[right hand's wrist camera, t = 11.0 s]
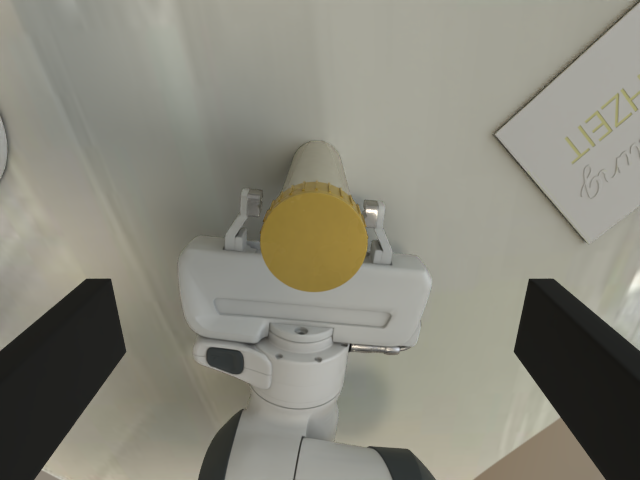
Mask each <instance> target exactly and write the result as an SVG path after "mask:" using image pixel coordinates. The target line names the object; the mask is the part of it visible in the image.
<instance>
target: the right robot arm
mask: <svg viewBox="0 0 640 480" xmlns="http://www.w3.org/2000/svg"><path fill="white" fill-rule="evenodd" d="M125 353H126V348H125V343H124V339H123V334H122V329H121V324H120V320H119V315H118V310H117V305H116V301H115V296H114V291H113V286H112V282H111V279H86V280H84V281H83V282H82V283H81V284H80V285H79V286H77V287H76V288H75V289H74V290H73V291H71V292H70V293H69V294H68V295H67V296H65V297H64V298H63V299H62V300H61V301H59V302H58V303H57V304H56V305H55V306H53V307H52V308H51V309H50V310H49V311H48V312H46V313H45V314H44V315H43V316H42V317H40V318H39V319H38V320H37V321H36V322H34V323H33V324H32V325H31V326H30V327H28V328H27V329H26V330H25V331H24V332H22V333H21V334H20V335H19V336H18V337H17V338H15V339H14V340H13V341H12V342H11V343H9V344H8V345H7V346H6V347H5V348H3V349H2V350H1V351H0V480H34V479H35V478H36V476H37V475H38V474H39V472H40V471H41V469H42V468H43V467H44V465H45V464H46V462H47V461H48V460H49V458H50V457H51V456H52V454H53V453H54V451H55V450H56V449H57V447H58V446H59V444H60V443H61V442H62V440H63V439H64V437H65V436H66V435H67V433H68V432H69V431H70V429H71V428H72V426H73V425H74V424H75V422H76V421H77V419H78V418H79V417H80V415H81V414H82V413H83V411H84V410H85V408H86V407H87V406H88V404H89V403H90V401H91V400H92V399H93V397H94V396H95V394H96V393H97V392H98V390H99V389H100V388H101V386H102V385H103V383H104V382H105V381H106V379H107V378H108V376H109V375H110V374H111V372H112V371H113V369H114V368H115V367H116V365H117V364H118V363H119V361H120V360H121V358H122V357H123V356H124V354H125ZM514 353H515V354H516V356H517V357H518V358H519V360H520V361H521V363H522V364H523V365H524V367H525V368H526V369H527V371H528V372H529V374H530V375H531V376H532V378H533V379H534V381H535V382H536V383H537V385H538V386H539V388H540V389H541V390H542V392H543V393H544V394H545V396H546V397H547V399H548V400H549V401H550V403H551V404H552V406H553V407H554V408H555V410H556V411H557V413H558V414H559V415H560V417H561V418H562V419H563V421H564V422H565V424H566V425H567V426H568V428H569V429H570V431H571V432H572V433H573V435H574V436H575V437H576V439H577V440H578V442H579V443H580V444H581V446H582V447H583V449H584V450H585V451H586V453H587V454H588V456H589V457H590V458H591V460H592V461H593V462H594V464H595V465H596V467H597V468H598V469H599V471H600V472H601V474H602V475H603V476H604V478H605V479H606V480H640V351H639V350H638V349H637V348H635V347H634V346H633V345H632V344H631V343H629V342H628V341H627V340H626V339H625V338H623V337H622V336H621V335H620V334H619V333H618V332H616V331H615V330H614V329H613V328H612V327H610V326H609V325H608V324H607V323H606V322H604V321H603V320H602V319H601V318H600V317H598V316H597V315H596V314H595V313H594V312H592V311H591V310H590V309H589V308H588V307H587V306H585V305H584V304H583V303H582V302H581V301H579V300H578V299H577V298H576V297H575V296H573V295H572V294H571V293H570V292H569V291H567V290H566V289H565V288H564V287H563V286H561V285H560V284H559V283H558V282H557V281H556V280H554V279H529V282H528V286H527V291H526V296H525V301H524V305H523V310H522V315H521V320H520V324H519V329H518V334H517V339H516V343H515V348H514Z"/></svg>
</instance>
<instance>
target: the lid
mask: <svg viewBox="0 0 640 480" xmlns="http://www.w3.org/2000/svg"><path fill="white" fill-rule="evenodd" d="M263 222H264V223H263V226H262V228H261V231H260V234H261V236H260V248H261V253H262V257H263V259H264V262H265V264H266V266H267V267H268V269H269V270H270V271H271V273H272V274H273V275H274V276H275V277H276V278H277V279H278V280H280V281H281V282H282V283H284V284H285V285H287V286H289V287H291V288H294V289H297V290H300V291H305V292H323V291H328V290H331V289H334V288H337V287H339V286H341V285H343V284H344V283H346V282H347V281H348V280H350V279H351V278H352V277H353V276H354V275H355V274H356V273H357V271H358V270H359V269H360V267H361V265H362V264H363V261H364V259H365V256H366V252H367V244H368V243H367V239H368V235H367V231H366V228H365V227H366V223H365V220H364V217H363V215H362V214H361V211H360V208H359V205H358V204H356V203H355V202H354V200H353V199H352V196H351V195H348V194H347V193H345V192H344V191H343V190H342V188H341V187H340V188H338V187H336V186H333V185H331V184H330V183H329V182H328V184H327V183H323V182H318V181H317V180H316V182H305V181H303V183H301V184H298V185H295V186H293V185H291V188H289V189H287V190H286V191H284V192H283V191H282V192H281V193H280V195H279V196H278V197H277V199H276V200H273V201H272V204H271V206H270V209H269V210H267V212H266V215H265V217H264V220H263Z"/></svg>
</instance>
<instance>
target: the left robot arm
mask: <svg viewBox="0 0 640 480" xmlns="http://www.w3.org/2000/svg"><path fill="white" fill-rule="evenodd" d="M6 161H7V139H6V133H5V129H4V125H3V122H2V119H1V116H0V179H1V177H2V175H3V173H4V170H5V166H6ZM262 197H263V190H258V189H250V188H244V189H243V190H242V192H241V197H240V213H239V214H238V216H237V217H236V219H235V220H234V222H233V223H232V225H231V226H230V228H229V229H228V231H227V233H226V234H225V238H224V237H213V236H203V235H199V236H196V237H195V238H194V239H193V240H192V241H190V242H189V243H188V244H187V245H186V246H185V248H184V249H183V250H182V252H181V254H180V255H179V258H178V283H179V292H180V298H181V304H182V309H183V314H184V317H185V320H186V322H187V324H188V325H189V327H190V328H191V329H192V330H193V331H194V332H195V333H197V336H196V339H195V343H194V347H193V357H194V360H195V361H196V362H197V363H199V364H201V365H203V366H206V367H209V368H212V369H215V370H218V371H220V372H223V373H226V374H228V375H231V376H233V377H236V378H238V379H240V380H243V381H245V382H247V383H249V384H250V388H251V396H250V398H249V401H248V405H247V409H245V410H244V409H242V410H240V411H239V412H237V413H236V414H235V415H234V416H233V417H232V418H231V419H230V420H229V421H228V422H227V423H226V424H225V425H224V426H223V427H222V428H221V429H220V430H219V431H218V432H217V434H216V435H215V437H214V438H213V440H212V442H211V444H210V446H209V448H208V450H207V452H206V455H205V457H204V460H203V463H202V466H201V470H200V474H199V478H198V480H436V479H435V478H434V477H433V475H432V474H431V473H430V471H429V470H428V469H427V468H426V467H425V466H424V464H423V463H422V462H421V461H420V460H419V459H418V458H417V457H416V456H415V455H414V454H413V453H412V452H411V451H410V450H408V449H401V448H386V447H373V446H369V447H361V446H355V445H349V444H343V443H337V442H334V440H335V435H336V430H337V424H338V415H339V413H338V405H337V399H338V397H339V396H340V394H341V391H342V388H343V384H344V378H345V372H346V365H347V359H348V352H361V353H384V354H387V355H397V354H399V351H404V350H407V349H409V348H411V347H413V346H415V344H416V343H417V341H418V337H419V333H420V329H421V317H422V314H423V312H424V309H425V307H426V304H427V301H428V298H429V294H430V291H431V287H432V277H431V275H430V272H429V271H428V269H427V267H426V266H425V264H424V263H423V262H422V260H421V259H420V258H419V257H418V256H416V255H409V254H398V253H393V251H392V248H391V246H390V243H389V241H388V238H387V236H386V233H385V231H384V229H383V221H384V214H385V204H384V202H383V201H373V200H364V204H363V207H364V211H363V212H362V215H363V217H364V220H365V223H366V227H370V228H374V230H375V233H376V235H377V237H378V240H379V242H378V241H377V240H373V241H372V244H371V250H370V251H367V252H366V256H365V259H364V261H363V264H362V265H361V267H360V269H359V270H358V271H357V273H356V274H355V275H354V276H353V277H352V278H351V279H350V280H348V281H347V282H346V283H344V284H343V285H341V286H339V287H337V288H334V289H331V290H328V291H323V292H305V291H300V290H297V289H294V288H291V287H289V286H287V285H285V284H284V283H282V282H281V281H280V280H278V279H277V278H276V277H275V276H274V275H273V274H272V273H271V271H270V270H269V269H268V267H267V266H266V264H265V262H264V259H263V257H262V253H261V248H260V241H256V240H247V229H246V228H241V227H242V225H243V224H244V222H245V221H246V219H247V218H248V216H253V217H259V216H260V213H261V211H262V201H261V199H262ZM240 228H241V229H240Z"/></svg>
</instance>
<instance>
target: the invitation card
mask: <svg viewBox="0 0 640 480" xmlns="http://www.w3.org/2000/svg"><path fill="white" fill-rule="evenodd" d="M494 135H495V136H496V137H497V138H498V139H499V141H500V142H501V143H502V144H503V145H504V146H505V148H506V149H507V150H508V151H509V152H510V153H511V155H512V156H513V157H514V158H515V159H516V160H517V162H518V163H519V164H520V165H521V166H522V168H523V169H524V170H525V171H526V172H527V173H528V175H529V176H530V177H531V178H532V179H533V180H534V182H535V183H536V184H537V185H538V186H539V187H540V189H541V190H542V191H543V192H544V193H545V194H546V196H547V197H548V198H549V199H550V200H551V202H552V203H553V204H554V205H555V206H556V207H557V209H558V210H559V211H560V212H561V213H562V214H563V216H564V217H565V218H566V219H567V220H568V221H569V223H570V224H571V225H572V226H573V227H574V229H575V230H576V231H577V232H578V233H579V234H580V236H581V237H582V238H583V239H584V240H585V241H586V243H587V244H590V243H592V242H593V241H594V240H596V239H597V238H598V237H599V236H601V235H602V234H603V233H605V232H606V231H607V230H609V229H610V228H611V227H613V226H614V225H615V224H617V223H618V222H619V221H620V220H622V219H623V218H624V217H626V216H627V215H628V214H630V213H631V212H632V211H634V210H635V209H636V208H637V207H639V206H640V1H639V2H638V3H637V4H636V5H635V6H634V7H633V8H632V9H631V10H630V11H629V12H627V13H626V14H625V15H624V16H623V17H622V18H621V19H620V20H619V21H618V22H616V23H615V24H614V25H613V26H612V27H611V28H610V29H609V30H608V31H607V32H606V33H604V34H603V35H602V36H601V37H600V38H599V39H598V40H597V41H596V42H595V43H593V44H592V45H591V46H590V47H589V48H588V49H587V50H586V51H585V52H584V53H582V54H581V55H580V56H579V57H578V58H577V59H576V60H575V61H574V62H573V63H572V64H570V65H569V66H568V67H567V68H566V69H565V70H564V71H563V72H562V73H561V74H559V75H558V76H557V77H556V78H555V79H554V80H553V81H552V82H551V83H550V84H548V85H547V86H546V87H545V88H544V89H543V90H542V91H541V92H540V93H539V94H538V95H536V96H535V97H534V98H533V99H532V100H531V101H530V102H529V103H528V104H527V105H525V106H524V107H523V108H522V109H521V110H520V111H519V112H518V113H517V114H516V115H514V116H513V117H512V118H511V119H510V120H509V121H508V122H507V123H506V124H505V125H504V126H502V127H501V128H500V129H499V130H498V131H497V132H496V133H495V134H494Z"/></svg>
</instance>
